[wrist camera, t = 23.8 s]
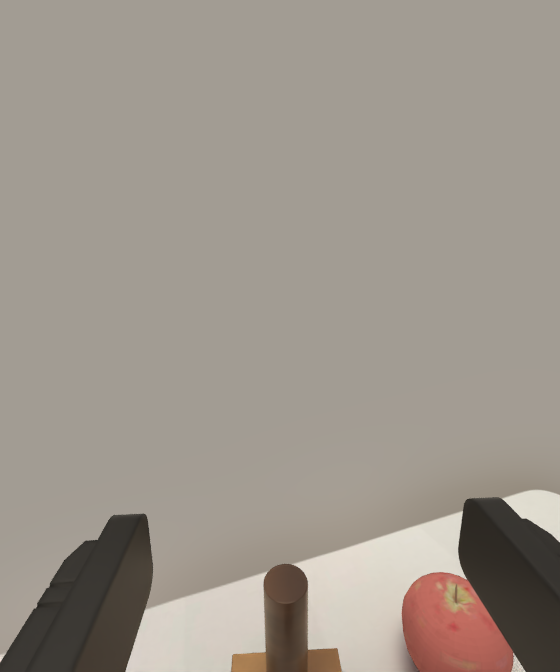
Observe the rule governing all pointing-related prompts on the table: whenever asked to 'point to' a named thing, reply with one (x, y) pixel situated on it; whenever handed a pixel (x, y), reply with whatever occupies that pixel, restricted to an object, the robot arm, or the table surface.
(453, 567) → the table surface
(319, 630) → the table surface
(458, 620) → the apple
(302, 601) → the wooden handled stamp
